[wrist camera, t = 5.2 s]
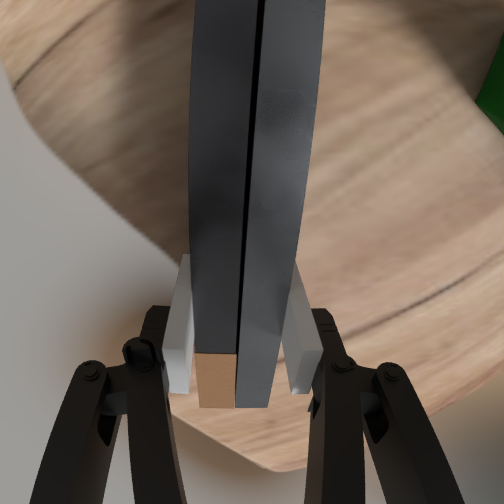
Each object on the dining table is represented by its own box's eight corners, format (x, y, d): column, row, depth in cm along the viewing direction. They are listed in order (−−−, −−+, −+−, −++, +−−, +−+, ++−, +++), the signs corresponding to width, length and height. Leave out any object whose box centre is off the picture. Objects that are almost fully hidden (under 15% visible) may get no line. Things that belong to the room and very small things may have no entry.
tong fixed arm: (229, -134, 6) (230, -181, 2) (310, -126, 7) (332, -169, 2) (202, 349, 22) (199, 406, 18) (264, 350, 23) (270, 407, 18)
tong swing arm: (217, -81, 9) (213, -128, 4) (260, -79, 9) (270, -126, 5) (203, 352, 22) (199, 407, 18) (232, 352, 22) (233, 408, 18)
